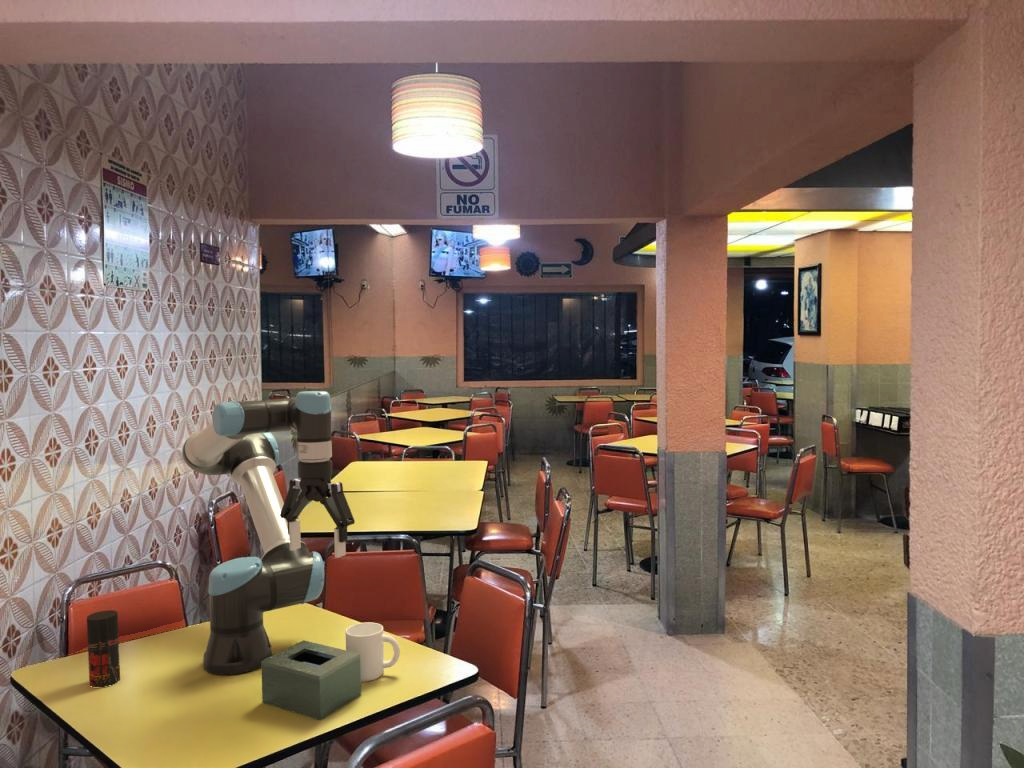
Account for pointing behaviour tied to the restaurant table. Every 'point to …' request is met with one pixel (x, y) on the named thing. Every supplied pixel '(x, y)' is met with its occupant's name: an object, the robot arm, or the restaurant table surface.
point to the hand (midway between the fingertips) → (317, 552)
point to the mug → (370, 648)
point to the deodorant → (103, 648)
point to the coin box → (311, 679)
